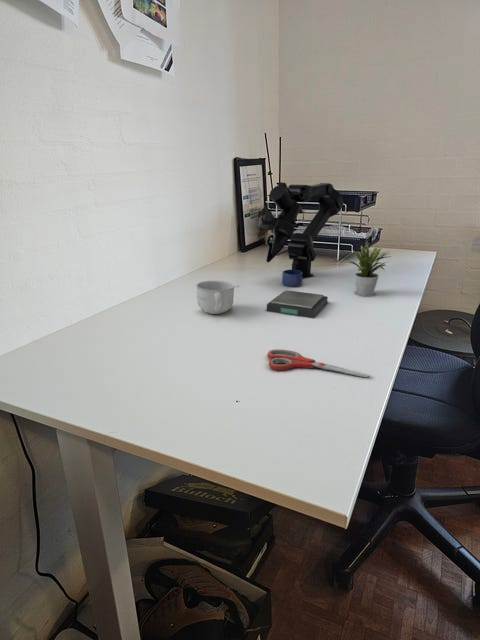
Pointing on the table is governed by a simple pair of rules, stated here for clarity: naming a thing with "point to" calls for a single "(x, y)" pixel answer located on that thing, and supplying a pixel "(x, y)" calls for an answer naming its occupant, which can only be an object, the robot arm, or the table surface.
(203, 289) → the teacup
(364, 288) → the house plant
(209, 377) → the table surface
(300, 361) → the scissors
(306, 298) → the scale pan
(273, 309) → the scale
